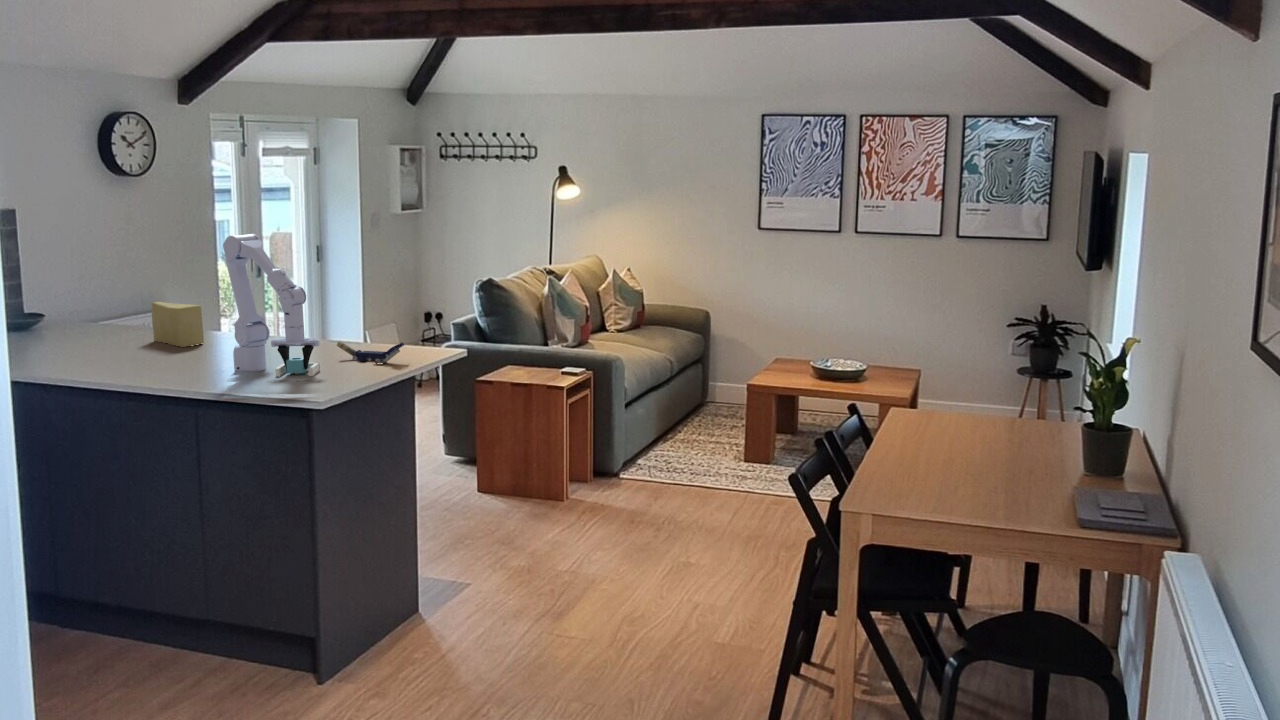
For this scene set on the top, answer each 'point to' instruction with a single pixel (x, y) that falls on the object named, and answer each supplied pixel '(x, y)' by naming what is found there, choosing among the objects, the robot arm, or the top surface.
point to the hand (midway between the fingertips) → (297, 368)
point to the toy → (371, 353)
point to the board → (295, 380)
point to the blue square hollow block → (295, 365)
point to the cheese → (177, 324)
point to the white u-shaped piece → (312, 369)
